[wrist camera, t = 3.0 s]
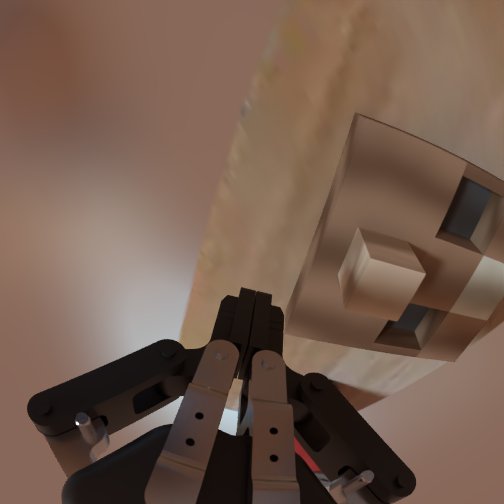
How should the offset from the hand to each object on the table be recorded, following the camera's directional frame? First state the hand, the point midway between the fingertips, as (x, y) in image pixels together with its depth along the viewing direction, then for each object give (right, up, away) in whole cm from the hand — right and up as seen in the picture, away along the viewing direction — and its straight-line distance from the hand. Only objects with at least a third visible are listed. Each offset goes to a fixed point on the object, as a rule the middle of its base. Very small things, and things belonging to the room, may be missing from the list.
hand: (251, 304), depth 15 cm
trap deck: (+14, +2, +9) cm, 17 cm away
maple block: (+9, +2, +6) cm, 11 cm away
